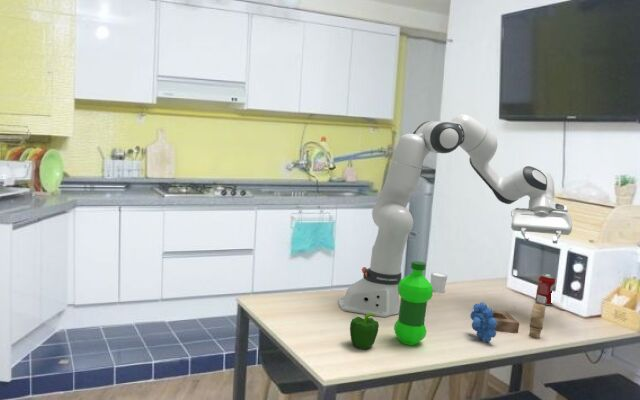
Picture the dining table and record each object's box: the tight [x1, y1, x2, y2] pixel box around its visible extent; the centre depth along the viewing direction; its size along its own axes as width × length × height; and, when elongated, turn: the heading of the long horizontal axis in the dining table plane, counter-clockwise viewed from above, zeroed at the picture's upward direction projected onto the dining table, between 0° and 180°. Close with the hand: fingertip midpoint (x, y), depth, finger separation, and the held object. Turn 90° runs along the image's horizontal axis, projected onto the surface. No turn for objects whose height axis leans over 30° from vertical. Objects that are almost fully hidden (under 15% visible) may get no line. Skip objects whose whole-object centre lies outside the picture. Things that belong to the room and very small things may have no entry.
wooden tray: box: [492, 309, 520, 334], centre depth 193 cm, size 12×12×4 cm
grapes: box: [470, 301, 497, 343], centre depth 177 cm, size 12×7×12 cm, turn 25°
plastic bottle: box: [393, 260, 434, 346], centre depth 167 cm, size 10×10×25 cm
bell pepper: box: [349, 313, 380, 350], centre depth 161 cm, size 8×8×10 cm
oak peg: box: [528, 302, 547, 339], centre depth 185 cm, size 4×4×11 cm
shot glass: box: [430, 272, 448, 293], centre depth 230 cm, size 7×7×7 cm
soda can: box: [535, 273, 556, 307], centre depth 227 cm, size 7×7×12 cm
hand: (540, 241), depth 193 cm, fingers open, 8 cm apart
